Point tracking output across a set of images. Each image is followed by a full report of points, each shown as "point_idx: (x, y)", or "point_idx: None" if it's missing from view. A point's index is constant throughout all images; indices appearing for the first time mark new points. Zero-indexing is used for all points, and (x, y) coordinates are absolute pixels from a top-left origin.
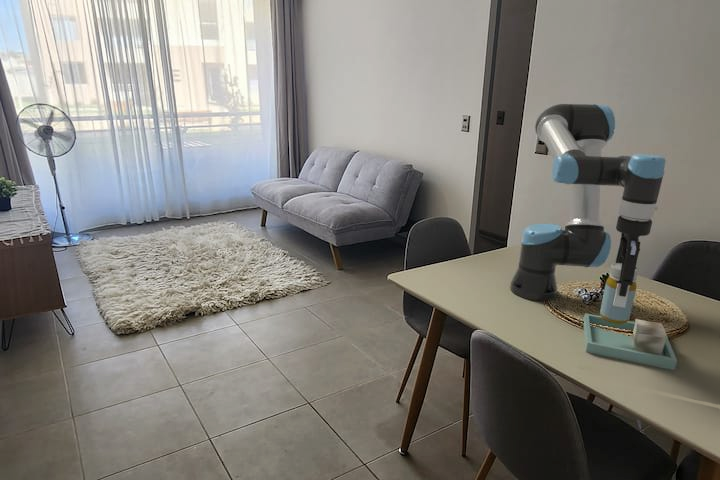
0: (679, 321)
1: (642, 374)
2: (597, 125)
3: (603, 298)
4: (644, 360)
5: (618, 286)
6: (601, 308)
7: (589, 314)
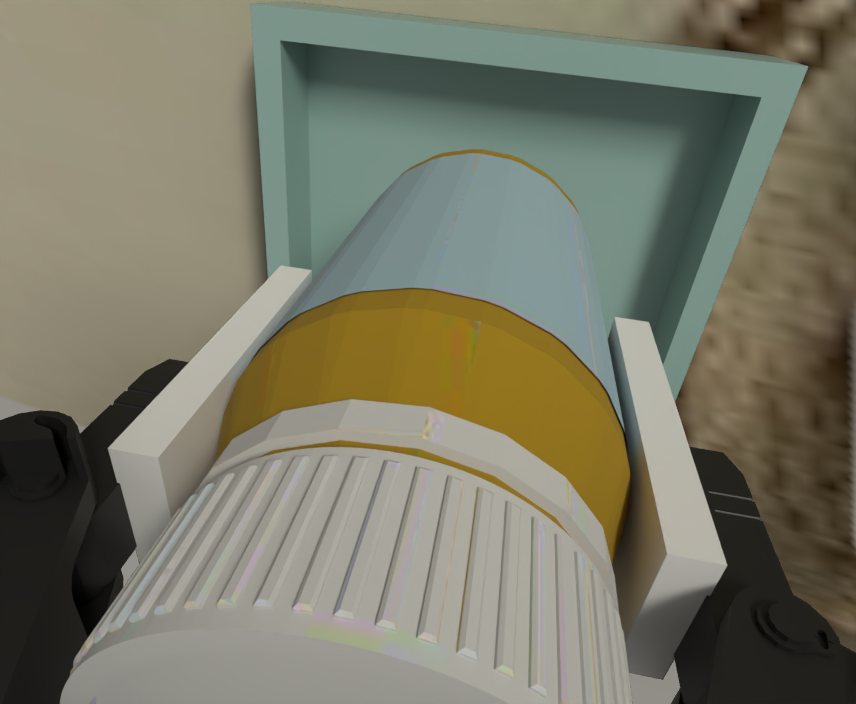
0: (833, 601)
1: (225, 281)
2: None
3: (444, 201)
4: None
5: (148, 416)
6: (459, 166)
7: (784, 108)
